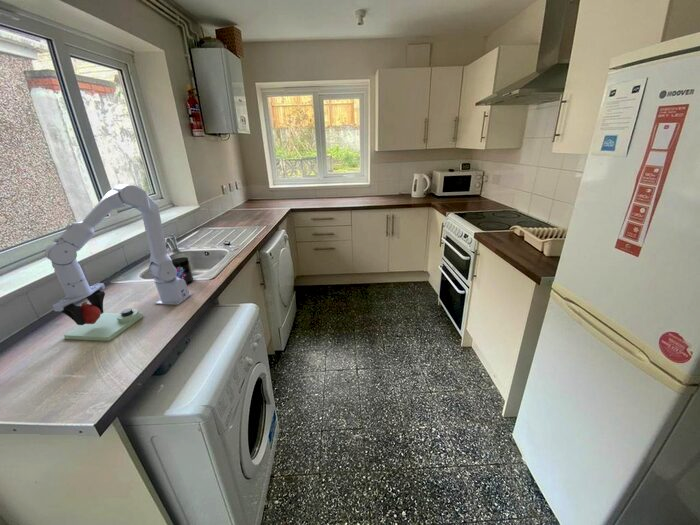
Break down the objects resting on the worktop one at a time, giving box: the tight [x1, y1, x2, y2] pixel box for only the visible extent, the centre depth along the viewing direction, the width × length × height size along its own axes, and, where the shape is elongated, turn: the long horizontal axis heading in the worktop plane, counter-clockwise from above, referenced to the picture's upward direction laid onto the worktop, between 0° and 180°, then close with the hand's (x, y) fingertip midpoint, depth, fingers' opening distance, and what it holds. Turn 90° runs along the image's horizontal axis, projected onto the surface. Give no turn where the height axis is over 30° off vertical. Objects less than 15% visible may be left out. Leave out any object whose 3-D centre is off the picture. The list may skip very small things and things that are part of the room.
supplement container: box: [171, 256, 195, 285], centre depth 124 cm, size 7×7×10 cm
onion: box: [80, 301, 101, 324], centre depth 92 cm, size 6×6×8 cm
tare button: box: [120, 308, 133, 317], centre depth 97 cm, size 3×3×2 cm
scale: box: [63, 308, 143, 342], centre depth 95 cm, size 16×13×3 cm
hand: (91, 318), depth 93 cm, fingers closed on onion, 6 cm apart
